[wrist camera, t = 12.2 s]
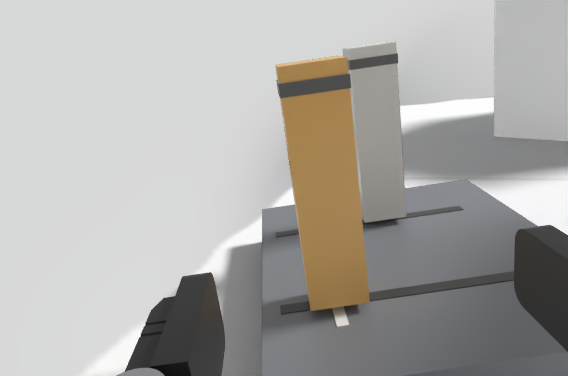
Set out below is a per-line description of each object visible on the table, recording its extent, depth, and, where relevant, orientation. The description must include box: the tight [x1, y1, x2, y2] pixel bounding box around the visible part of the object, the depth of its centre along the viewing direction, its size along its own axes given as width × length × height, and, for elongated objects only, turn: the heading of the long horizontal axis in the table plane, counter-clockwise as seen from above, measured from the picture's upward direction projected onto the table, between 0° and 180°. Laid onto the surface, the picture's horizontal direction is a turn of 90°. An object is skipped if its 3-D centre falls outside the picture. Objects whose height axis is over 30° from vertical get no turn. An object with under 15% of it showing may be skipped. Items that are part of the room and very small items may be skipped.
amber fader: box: [276, 56, 370, 311], centre depth 22 cm, size 3×3×12 cm
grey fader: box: [343, 42, 406, 223], centre depth 32 cm, size 3×3×12 cm
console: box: [262, 180, 568, 376], centre depth 29 cm, size 18×22×3 cm
